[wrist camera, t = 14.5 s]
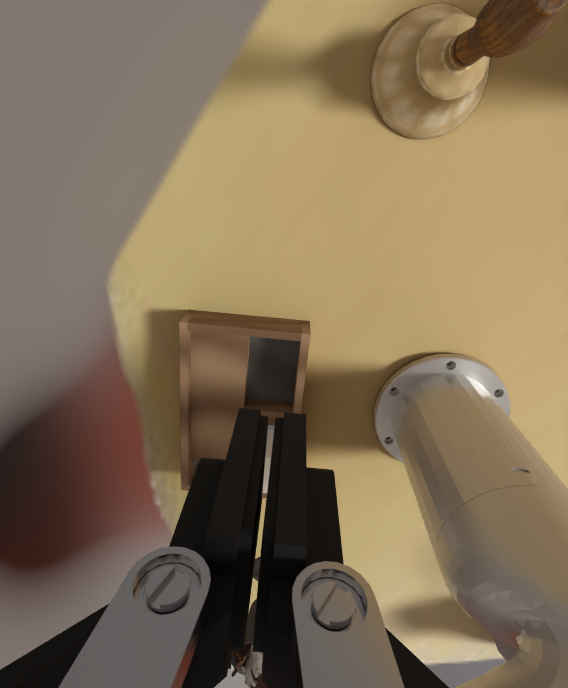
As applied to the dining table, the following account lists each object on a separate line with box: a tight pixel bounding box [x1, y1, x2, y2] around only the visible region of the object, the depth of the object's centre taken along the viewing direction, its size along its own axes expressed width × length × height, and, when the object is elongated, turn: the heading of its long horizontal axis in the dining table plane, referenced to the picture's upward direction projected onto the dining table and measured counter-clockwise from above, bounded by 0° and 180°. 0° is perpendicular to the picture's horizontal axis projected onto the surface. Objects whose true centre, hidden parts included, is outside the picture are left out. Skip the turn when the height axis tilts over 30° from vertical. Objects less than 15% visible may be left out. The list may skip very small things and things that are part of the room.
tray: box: [179, 310, 310, 498], centre depth 40 cm, size 18×11×3 cm, turn 175°
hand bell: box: [371, 0, 568, 139], centre depth 23 cm, size 8×8×16 cm
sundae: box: [232, 558, 267, 688], centre depth 44 cm, size 7×7×15 cm
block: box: [262, 430, 274, 493], centre depth 39 cm, size 4×4×4 cm
